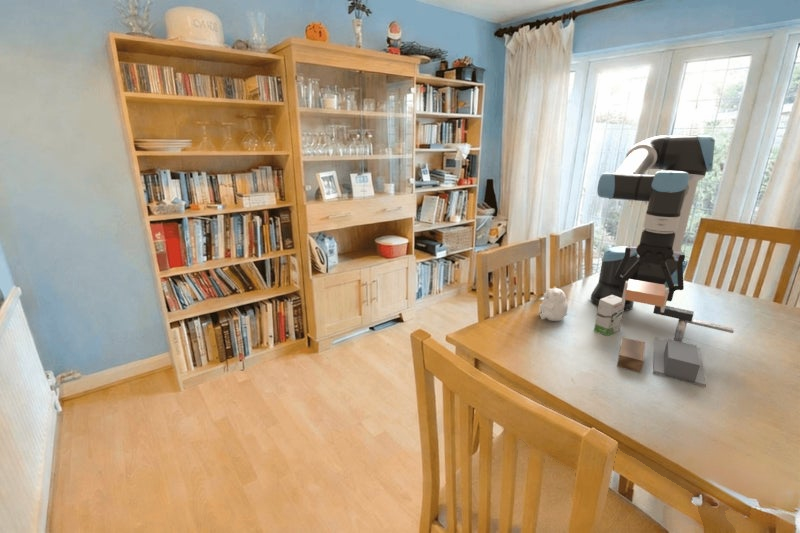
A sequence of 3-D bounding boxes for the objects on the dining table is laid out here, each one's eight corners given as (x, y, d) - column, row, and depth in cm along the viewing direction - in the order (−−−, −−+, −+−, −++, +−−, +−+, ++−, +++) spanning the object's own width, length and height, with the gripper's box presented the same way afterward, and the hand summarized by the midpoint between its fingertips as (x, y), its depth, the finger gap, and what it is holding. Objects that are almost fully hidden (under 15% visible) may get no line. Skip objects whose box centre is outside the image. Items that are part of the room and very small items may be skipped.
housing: (653, 372, 107) (657, 354, 105) (654, 338, 126) (658, 322, 124) (705, 387, 101) (711, 368, 99) (698, 348, 119) (703, 331, 117)
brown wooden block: (616, 366, 110) (619, 354, 109) (620, 348, 120) (622, 337, 119) (640, 372, 107) (643, 360, 106) (642, 353, 117) (644, 342, 115)
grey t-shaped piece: (725, 357, 112) (736, 324, 109) (647, 337, 124) (654, 306, 120) (725, 353, 114) (735, 320, 111) (648, 333, 126) (655, 303, 122)
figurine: (562, 313, 144) (566, 284, 140) (570, 325, 135) (575, 294, 131) (535, 312, 145) (539, 283, 141) (542, 324, 136) (546, 293, 132)
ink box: (607, 336, 127) (613, 304, 123) (592, 330, 131) (598, 299, 127) (620, 329, 131) (626, 298, 127) (606, 323, 135) (612, 293, 131)
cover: (624, 299, 105) (626, 289, 104) (627, 288, 113) (629, 278, 112) (663, 307, 100) (665, 296, 99) (662, 294, 108) (665, 284, 107)
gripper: (611, 228, 103) (598, 302, 110) (712, 238, 92) (689, 321, 99) (614, 223, 109) (601, 294, 116) (708, 232, 98) (687, 310, 105)
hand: (641, 306), depth 108 cm, fingers closed on cover, 9 cm apart
